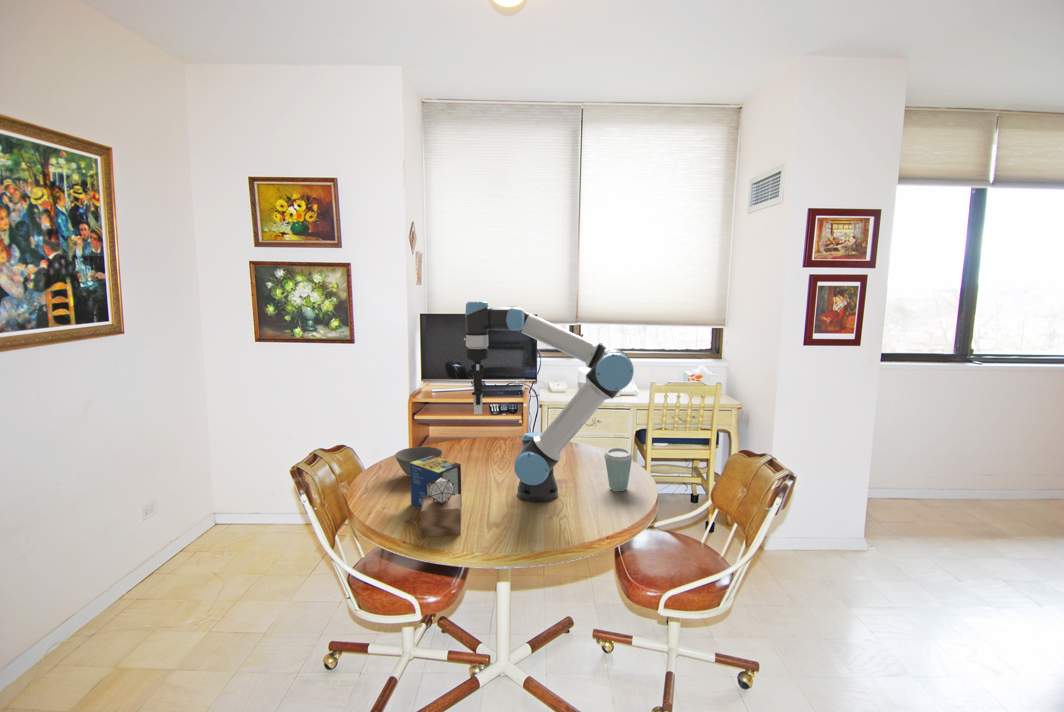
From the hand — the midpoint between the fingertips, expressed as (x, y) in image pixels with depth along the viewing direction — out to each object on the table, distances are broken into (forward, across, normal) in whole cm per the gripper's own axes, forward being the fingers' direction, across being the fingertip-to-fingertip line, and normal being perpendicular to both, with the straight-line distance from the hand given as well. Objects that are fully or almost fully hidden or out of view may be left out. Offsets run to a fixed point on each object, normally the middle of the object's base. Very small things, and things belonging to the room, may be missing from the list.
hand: (477, 409), depth 169 cm
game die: (+27, +14, -12) cm, 33 cm away
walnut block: (+35, +14, -12) cm, 39 cm away
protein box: (+35, -2, -15) cm, 38 cm away
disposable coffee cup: (+35, -9, +53) cm, 64 cm away
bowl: (+35, -31, -23) cm, 52 cm away
